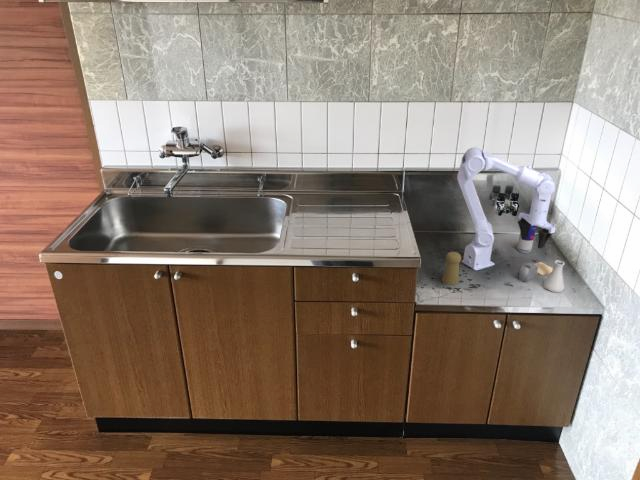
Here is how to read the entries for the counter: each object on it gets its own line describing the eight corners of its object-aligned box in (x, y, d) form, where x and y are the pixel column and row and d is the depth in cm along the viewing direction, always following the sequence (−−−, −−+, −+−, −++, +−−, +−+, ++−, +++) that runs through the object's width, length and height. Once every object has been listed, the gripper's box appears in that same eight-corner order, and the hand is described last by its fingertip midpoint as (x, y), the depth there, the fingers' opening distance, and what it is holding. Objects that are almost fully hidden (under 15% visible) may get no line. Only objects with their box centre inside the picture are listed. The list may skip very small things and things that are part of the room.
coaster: (541, 276, 186) (542, 274, 186) (526, 267, 192) (527, 265, 191) (555, 271, 189) (555, 270, 189) (540, 263, 195) (540, 261, 194)
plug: (523, 282, 182) (526, 270, 180) (516, 278, 185) (518, 265, 183) (539, 277, 185) (541, 265, 183) (531, 273, 188) (534, 261, 186)
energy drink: (532, 253, 201) (538, 226, 196) (517, 252, 202) (523, 224, 197) (530, 247, 206) (535, 220, 200) (516, 246, 207) (521, 219, 201)
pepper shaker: (459, 277, 185) (463, 250, 180) (458, 286, 180) (462, 259, 175) (442, 275, 187) (445, 248, 182) (440, 283, 182) (444, 256, 177)
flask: (562, 295, 175) (569, 269, 171) (540, 289, 179) (546, 264, 174) (566, 285, 181) (572, 260, 176) (544, 279, 184) (550, 255, 179)
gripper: (564, 214, 176) (556, 249, 183) (531, 199, 188) (524, 233, 194) (550, 218, 174) (542, 253, 180) (517, 203, 185) (510, 236, 191)
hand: (532, 243), depth 187 cm, fingers open, 7 cm apart
